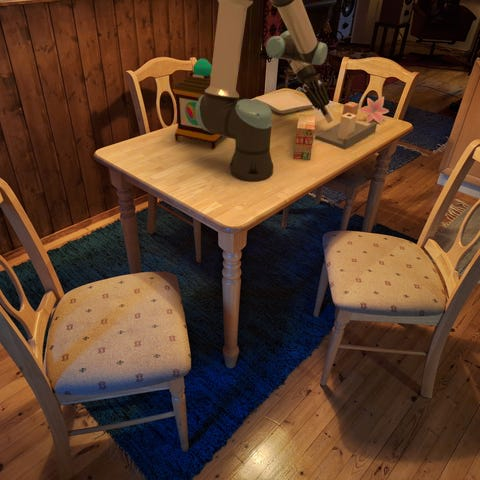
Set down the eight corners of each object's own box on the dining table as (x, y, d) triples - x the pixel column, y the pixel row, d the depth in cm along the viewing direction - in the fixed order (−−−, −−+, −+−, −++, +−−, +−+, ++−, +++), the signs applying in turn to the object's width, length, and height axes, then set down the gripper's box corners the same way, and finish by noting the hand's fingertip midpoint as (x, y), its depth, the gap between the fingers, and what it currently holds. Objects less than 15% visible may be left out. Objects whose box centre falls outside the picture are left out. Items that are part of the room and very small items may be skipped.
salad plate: (287, 96, 210) (288, 90, 208) (315, 110, 196) (316, 102, 194) (253, 104, 201) (253, 96, 199) (280, 118, 187) (280, 110, 185)
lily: (352, 121, 187) (359, 107, 179) (363, 105, 192) (371, 89, 183) (375, 134, 186) (384, 120, 177) (386, 117, 190) (395, 102, 181)
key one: (346, 141, 163) (350, 117, 158) (337, 138, 166) (341, 115, 160) (352, 137, 166) (357, 114, 161) (344, 134, 169) (348, 111, 163)
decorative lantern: (237, 133, 171) (239, 55, 153) (215, 152, 157) (214, 69, 139) (194, 124, 178) (191, 49, 160) (170, 142, 163) (163, 61, 145)
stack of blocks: (296, 136, 171) (299, 106, 163) (312, 137, 170) (316, 107, 163) (293, 159, 154) (296, 127, 146) (310, 160, 153) (314, 128, 146)
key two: (348, 128, 174) (352, 106, 168) (340, 125, 176) (344, 103, 170) (354, 125, 177) (359, 103, 171) (346, 122, 179) (350, 100, 173)
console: (345, 149, 161) (346, 139, 159) (315, 138, 169) (316, 129, 166) (375, 132, 176) (377, 122, 173) (346, 122, 183) (347, 114, 181)
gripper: (306, 71, 174) (333, 121, 175) (287, 77, 166) (315, 130, 167) (319, 60, 167) (347, 112, 169) (299, 66, 160) (329, 120, 161)
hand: (331, 121), depth 168 cm, fingers closed
